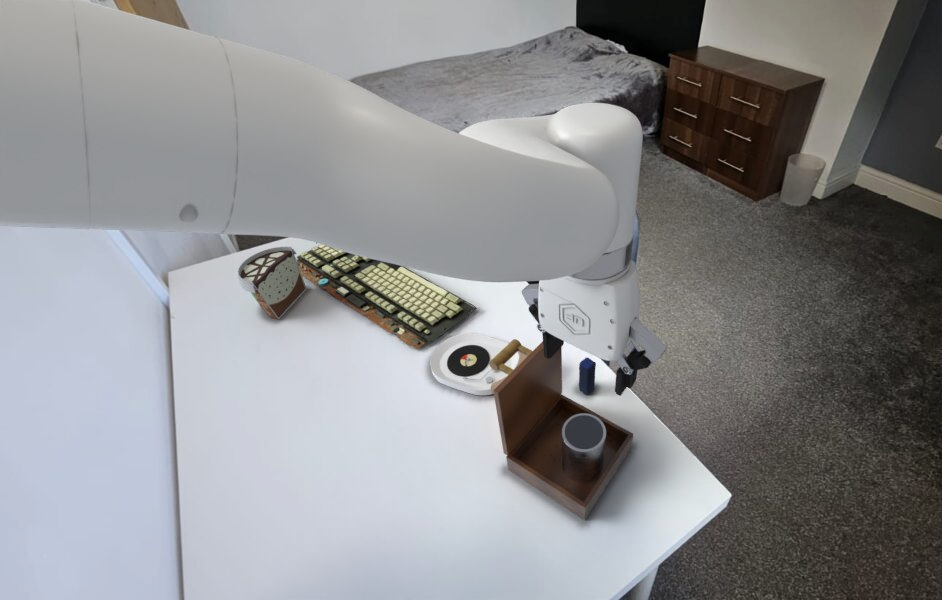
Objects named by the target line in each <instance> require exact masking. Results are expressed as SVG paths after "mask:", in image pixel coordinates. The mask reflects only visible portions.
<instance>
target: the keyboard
mask: <svg viewBox="0 0 942 600" xmlns="http://www.w3.org/2000/svg"><path fill="white" fill-rule="evenodd" d="M315 244H318V243H316V242H315ZM296 261H297V264H298V266H299V269H300V272H301V275H302V277H303V278H305V279H306V280H309V281H310V282H311V283H313V284H315V285H316V286H318V288H321V289H323V290H325V291H327V293H328V294H330V295H331V296H333V297H334V298H336V299H337V300H339V301H340V302H342V303H344V304H345V305H347V306H348V307H349V308H351V309H353V310H354V311H356V312H357V313H359V314H361V315H362V316H363V317H366V318H367V319H368V320H370V321H371V322H372V323H374V324H376V325H377V326H379V327H380V328H382V329H383V330H385V331H386V332H388V333H389V334H391V335H394V334H395V335H396V338H397V339H398V340H400V341H401V342H402V343H404V344H406V345H407V346H409V347H413V348H414V349H416V350H419V349H420V348H421V347H423V346H424V345H426V344H427V343H432V342H434V341H435V340H437V339H438V338H439V337H441V336H442V335H444V334H445V333H446V332H448V331H450V330H451V329H452V328H453V327H455V326H456V325H458V324H459V323H461V322H462V321H463V320H465V318H467V317H468V316H470V315H471V314H472V313H474V312H475V311H476V310H477V309H478V308H477V307H476V305H474V304H472V303H470V302H469V301H466V300H464V299H463V298H461V297H459V296H458V295H456V294H454V293H452V292H451V291H448V290H447V289H445V288H444V287H442V286H440V285H437V284H436V283H434V282H432V281H430V280H429V279H426V278H425V277H423V276H421V275H419V274H417V273H416V272H415V271H412V270H410V268H408V267H404V266H400V265H396V264H392V263H387V262H383V261H379V260H374V259H370V258H366V257H362V256H358V255H354V254H350V253H347V252H344V251H340V250H337V249H334V248H331V247H328V246H325V245H322V244H320V245H318V246H314V247H312V248H311V249H310V250H308V251H303V252H300V254H299V255H298V256H296Z"/></svg>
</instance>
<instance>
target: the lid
mask: <svg viewBox="0 0 942 600" xmlns="http://www.w3.org/2000/svg"><path fill="white" fill-rule="evenodd" d="M562 347H563V346H562ZM562 347H561V348H560V349H559V350H558V351H557V352H556V353H555V354H554V355H553V356H552V357H551V358H549V359H548V358H546V357H544V346H543V340H542V341H541V342H540V343H539V344H538V345H537V346H536V347H535V348H534V349H533V350H531V349H529V348H527V347H526V346H523V345H522V343H521V341H519V340H518V339H516V338H513V339H512V340H511V341H510V342H509V344H508V345H507V346H506V347H505V348H504V349H503V350H501V351H500V352H499V353H498V354H497V355H496V356H495V357H494V358H493V359H492V360H491V361H490V362H489V365H490V367H491V368H492V369H493V370H495V371H498V370H500V371H502V372H504V373H506V374H507V375H508V376H507V377H506V378H505V379H504V380H503V381H502V382H501V383H500V384H499V385H498V386H497V387H496V388H495V389H494V390H493V392H494V394H493V397H494V403H495V408H496V409H495V410H496V415H497V416H496V417H497V421H498V427H499V433H500V440H501V446H502V451H503V454H504V455H506V456H508V455H509V454H510V453H511V452H512V451H513V449H514V448H515V447H516V446H517V445H518V444H519V442H520V441H521V440H522V439H523V438H524V437H525V435H526V434H527V433H528V432H529V431H530V430H531V428H532V427H533V426H534V425H535V424H536V423H537V421H538V420H539V419H540V418H541V417H542V416H543V414H544V413H545V412H546V411H547V410H548V409H549V407H550V406H551V405H552V404H553V403H554V402H555V400H556V399H557V398H558V397H559V396H560V395H561V394H562V393H563V359H562V357H563V356H562V355H563V354H562ZM518 351H519V352H521V353H523V354H525V355H527V357H526V358H525V359H524V360H523V361H522V362H521V363H520V364H519V365H518V366H517V367H516V368H515V369H514V370H513V369H511V368H510V367H508V366H506V365H504V364H505V363H506V362H507V361H508V360H509V359H510V358H511V357H512V356H513V355H514V354H515V353H516V352H518Z"/></svg>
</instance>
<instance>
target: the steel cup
mask: <svg viewBox="0 0 942 600" xmlns="http://www.w3.org/2000/svg"><path fill="white" fill-rule="evenodd" d="M605 441H606V428H605V425H604V424H603V422H602V421H601V420H600V419H599V418H598V417H596V416H594V415H591V414H587V413H581V414H576V415H573V416H571V417H570V418H569V419H567V421H566V422H565V423H564V425H563V427H562V466H563V470H564V472H565V474H566V475H567V476H568V477H569V478H571V479H572V480H574V481H577V482H589V481H592V480H594V479H595V478H597V477H598V476H599V475H600V473H601V471H602V469H603V463H604V452H605Z"/></svg>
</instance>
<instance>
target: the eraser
mask: <svg viewBox="0 0 942 600" xmlns="http://www.w3.org/2000/svg"><path fill="white" fill-rule="evenodd" d="M596 367H597V362H596V361H593V360H592V359H591V358H589V357H584V359H582V360H581V361H580V362H579V366H578V371H579V372H578V376H579V377H578V389H579V391H580V392H581V393H582V394H583V395H585V396H589V395H591V393H592V392H594V390H595V386H596V384H595V382H596Z"/></svg>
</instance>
